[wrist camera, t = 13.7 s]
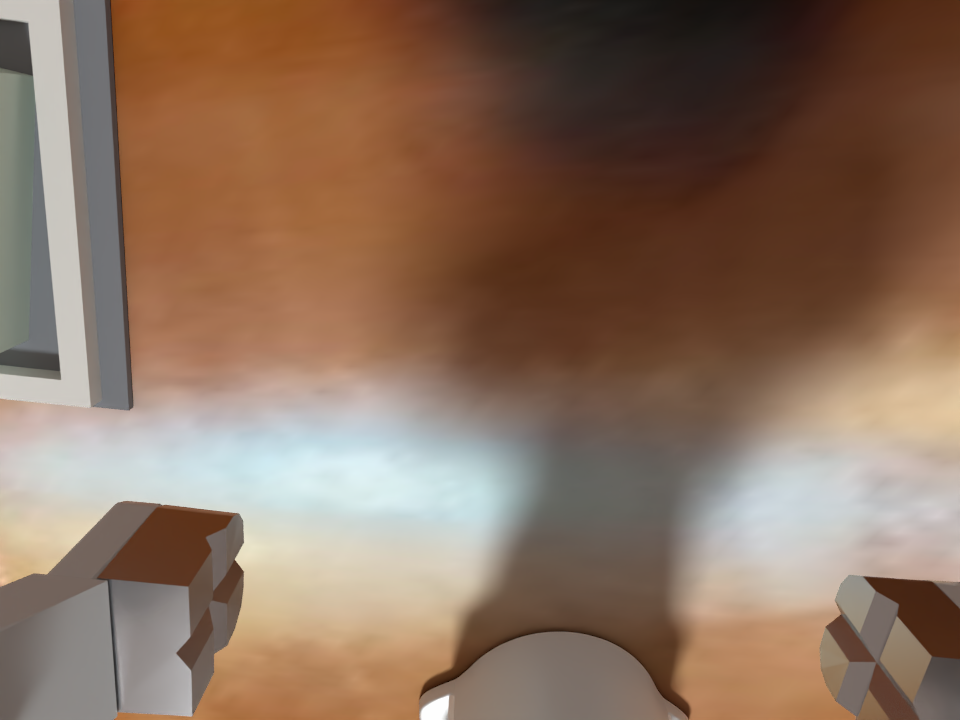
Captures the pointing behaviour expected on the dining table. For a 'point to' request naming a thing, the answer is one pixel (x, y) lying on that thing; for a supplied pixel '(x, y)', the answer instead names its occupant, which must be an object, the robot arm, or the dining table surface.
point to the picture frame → (71, 209)
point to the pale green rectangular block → (16, 204)
